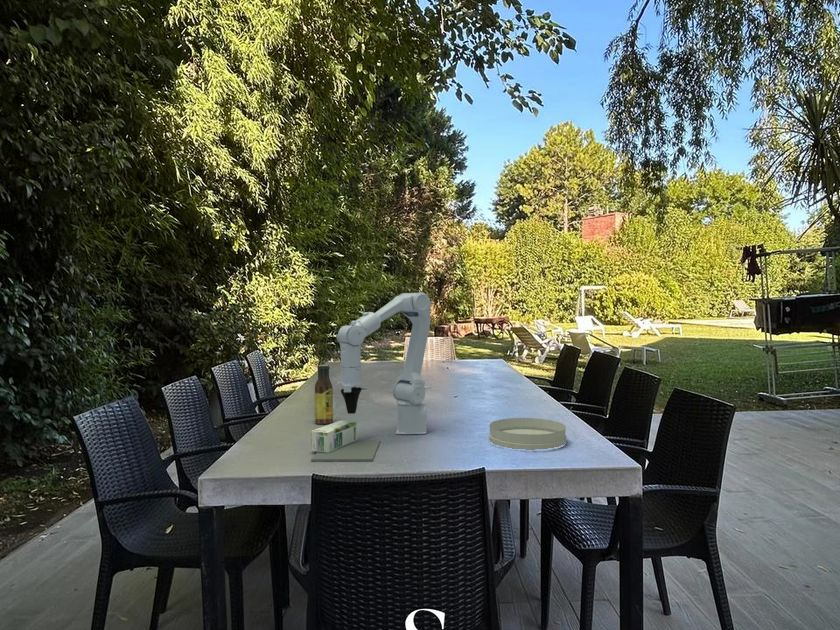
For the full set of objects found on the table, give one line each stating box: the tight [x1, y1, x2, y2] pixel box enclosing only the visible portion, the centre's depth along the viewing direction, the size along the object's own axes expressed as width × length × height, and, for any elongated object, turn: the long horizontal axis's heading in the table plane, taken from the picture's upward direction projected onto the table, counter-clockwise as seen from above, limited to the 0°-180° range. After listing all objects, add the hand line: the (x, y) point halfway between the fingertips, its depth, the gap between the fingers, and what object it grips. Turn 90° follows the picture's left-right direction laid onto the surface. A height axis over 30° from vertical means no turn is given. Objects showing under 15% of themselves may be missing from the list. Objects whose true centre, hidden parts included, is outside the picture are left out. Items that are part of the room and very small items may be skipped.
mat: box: [310, 440, 381, 463], centre depth 151 cm, size 16×18×1 cm
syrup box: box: [310, 420, 357, 453], centre depth 155 cm, size 6×6×14 cm
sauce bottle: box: [314, 364, 334, 425], centre depth 188 cm, size 6×6×20 cm
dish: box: [488, 417, 567, 450], centre depth 159 cm, size 22×22×5 cm
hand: (351, 413), depth 160 cm, fingers closed
